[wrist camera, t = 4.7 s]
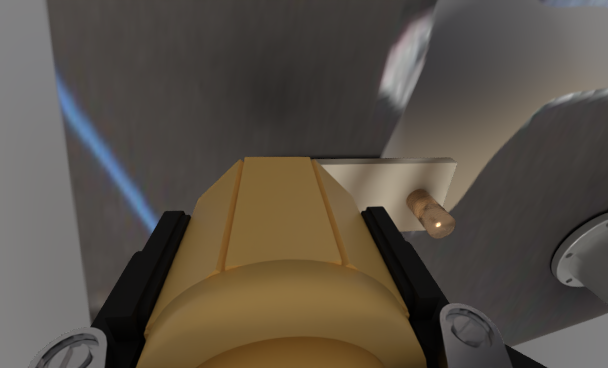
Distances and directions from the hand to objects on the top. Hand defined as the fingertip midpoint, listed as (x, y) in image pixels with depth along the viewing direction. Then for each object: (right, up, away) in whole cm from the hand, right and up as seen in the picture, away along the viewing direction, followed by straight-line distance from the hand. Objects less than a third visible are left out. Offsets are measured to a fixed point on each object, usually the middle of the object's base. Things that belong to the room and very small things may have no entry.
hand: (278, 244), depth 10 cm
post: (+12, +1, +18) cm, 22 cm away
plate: (+6, +1, +18) cm, 19 cm away
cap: (0, +1, +1) cm, 1 cm away
